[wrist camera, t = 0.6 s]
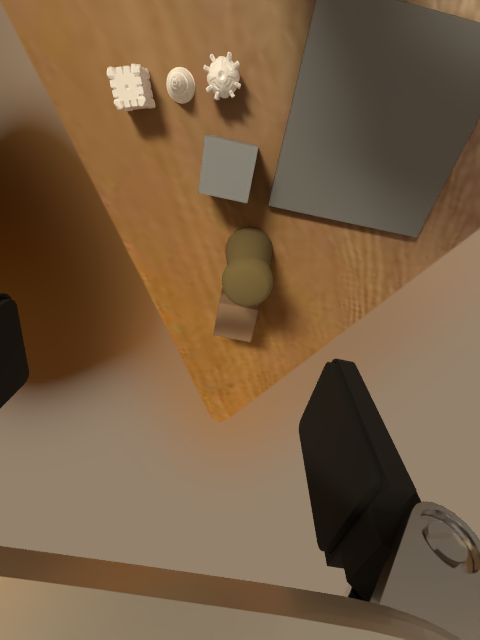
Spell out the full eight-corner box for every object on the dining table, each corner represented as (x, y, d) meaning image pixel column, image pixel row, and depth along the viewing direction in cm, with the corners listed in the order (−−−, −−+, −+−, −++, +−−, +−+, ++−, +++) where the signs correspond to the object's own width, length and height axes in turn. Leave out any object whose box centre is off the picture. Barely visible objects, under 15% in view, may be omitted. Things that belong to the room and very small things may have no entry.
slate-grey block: (211, 135, 31) (205, 135, 27) (257, 145, 32) (258, 147, 27) (205, 185, 34) (198, 192, 30) (248, 194, 34) (247, 203, 30)
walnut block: (222, 285, 41) (219, 302, 36) (258, 292, 41) (258, 310, 37) (217, 315, 43) (213, 335, 39) (250, 321, 44) (250, 342, 39)
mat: (319, -16, 25) (321, -21, 24) (514, 37, 26) (522, 34, 26) (268, 204, 35) (268, 205, 34) (412, 235, 36) (416, 237, 35)
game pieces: (128, 112, 31) (116, 110, 28) (119, 72, 29) (104, 65, 26) (243, 99, 30) (241, 96, 27) (240, 56, 28) (238, 47, 25)
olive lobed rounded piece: (282, 254, 38) (291, 293, 29) (245, 281, 40) (242, 326, 31) (253, 216, 36) (252, 245, 26) (215, 247, 38) (202, 284, 28)
